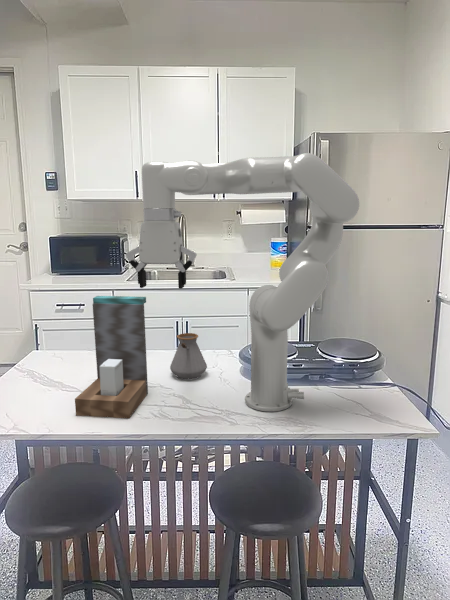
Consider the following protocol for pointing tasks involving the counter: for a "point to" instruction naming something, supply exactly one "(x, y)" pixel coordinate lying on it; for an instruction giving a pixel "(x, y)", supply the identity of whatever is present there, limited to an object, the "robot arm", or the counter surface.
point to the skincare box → (111, 377)
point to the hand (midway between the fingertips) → (162, 287)
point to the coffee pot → (188, 358)
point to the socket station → (117, 356)
